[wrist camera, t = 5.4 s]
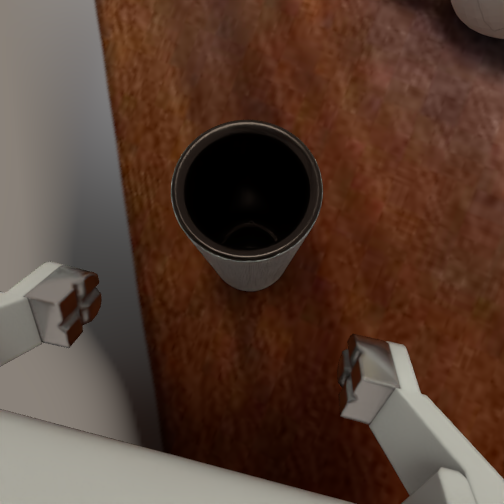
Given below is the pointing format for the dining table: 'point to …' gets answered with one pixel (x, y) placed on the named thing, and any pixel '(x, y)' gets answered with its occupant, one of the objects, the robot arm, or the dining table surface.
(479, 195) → the dining table surface
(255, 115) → the dining table surface
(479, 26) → the decorative item
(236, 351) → the dining table surface
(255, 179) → the grey tumbler
